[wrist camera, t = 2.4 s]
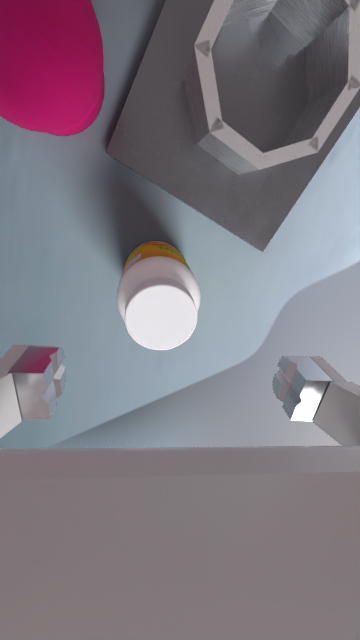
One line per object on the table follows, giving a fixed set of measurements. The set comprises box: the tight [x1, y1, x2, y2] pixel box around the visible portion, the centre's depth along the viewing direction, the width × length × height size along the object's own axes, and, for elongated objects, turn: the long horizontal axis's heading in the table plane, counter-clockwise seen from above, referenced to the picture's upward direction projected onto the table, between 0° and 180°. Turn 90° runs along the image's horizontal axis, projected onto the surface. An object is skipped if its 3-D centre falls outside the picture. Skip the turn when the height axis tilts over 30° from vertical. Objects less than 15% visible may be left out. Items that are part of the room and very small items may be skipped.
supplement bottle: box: [117, 241, 200, 350], centre depth 18 cm, size 5×5×10 cm
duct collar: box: [106, 0, 360, 252], centre depth 16 cm, size 16×14×5 cm
